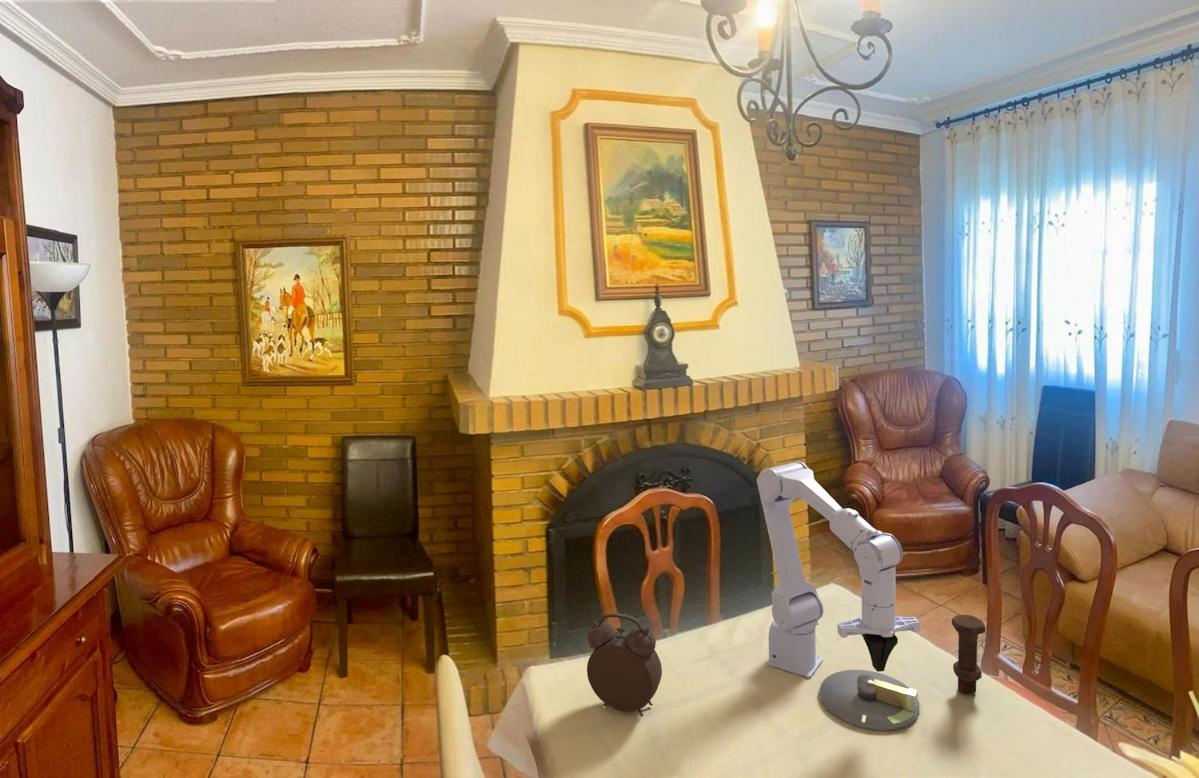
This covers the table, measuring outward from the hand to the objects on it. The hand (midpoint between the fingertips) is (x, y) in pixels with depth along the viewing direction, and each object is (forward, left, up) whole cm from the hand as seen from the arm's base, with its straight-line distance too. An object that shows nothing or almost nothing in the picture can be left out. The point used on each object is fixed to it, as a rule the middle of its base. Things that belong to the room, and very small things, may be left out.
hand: (878, 668), depth 122 cm
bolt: (+12, +17, -10) cm, 23 cm away
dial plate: (-3, +4, -10) cm, 11 cm away
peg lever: (0, +4, -9) cm, 9 cm away
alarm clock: (-42, -23, -10) cm, 49 cm away
